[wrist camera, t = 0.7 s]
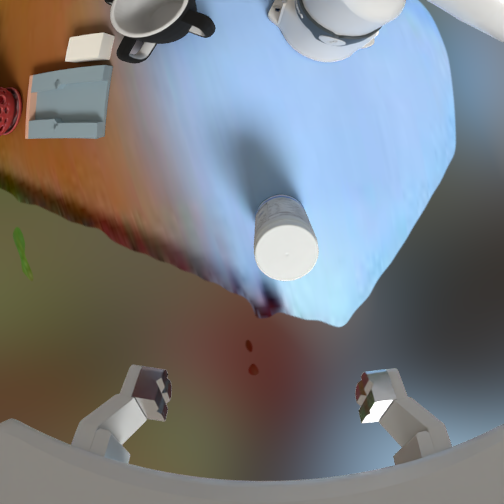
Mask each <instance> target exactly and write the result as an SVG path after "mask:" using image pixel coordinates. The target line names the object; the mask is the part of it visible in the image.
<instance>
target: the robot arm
mask: <svg viewBox="0 0 504 504" xmlns="http://www.w3.org/2000/svg"><path fill="white" fill-rule="evenodd" d="M427 1H429V2H430V3H432V4H434V5H436V6H438V7H439V8H441V9H442V10H444V11H446V12H447V13H449V14H451V15H452V16H454V17H455V18H457V19H458V20H460V21H462V22H464V23H467V24H468V25H470V26H472V27H474V28H476V29H478V30H480V31H482V32H484V33H486V34H488V35H490V36H492V37H493V38H495V39H497V40H499V41H502V42H504V0H427ZM405 3H406V0H275V1H274V3H273V5H272V6H271V8H270V10H269V12H268V18H269V20H270V21H271V22H273V23H274V24H275V25H276V26H278V27H279V28H280V30H281V31H282V33H283V35H284V37H285V39H286V41H287V42H288V43H289V44H290V46H291V47H292V48H293V49H295V50H296V51H297V52H298V53H300V54H302V55H303V56H305V57H307V58H310V59H312V60H316V61H321V62H336V61H340V60H343V59H346V58H348V57H349V56H351V55H352V54H353V53H355V52H356V51H357V50H359V49H363V48H368V47H370V46H372V45H373V44H374V37H376V36H377V35H378V33H379V31H378V30H379V29H380V28H381V27H382V26H383V25H385V24H387V23H388V22H390V21H392V20H394V19H395V18H397V17H398V16H399V15H400V13H401V12H402V10H403V8H404V6H405ZM275 9H279V10H280V11H278V12H277V11H275ZM167 377H168V373H167V370H164V369H157V368H150V367H144V366H138V365H132V366H131V367H130V368H129V371H128V373H127V376H126V379H125V381H124V384H123V386H122V389H121V392H120V394H116V395H115V396H113V397H112V398H111V399H109V400H108V401H107V402H105V403H104V404H103V405H101V406H100V407H99V408H97V409H96V410H94V411H93V412H92V413H91V414H89V415H88V416H86V417H85V418H84V419H82V420H81V421H80V423H79V426H78V428H77V430H76V433H75V435H74V438H73V441H72V443H71V445H69V444H67V443H64V442H62V441H60V440H57V439H55V438H53V437H50V436H48V435H46V434H44V433H42V432H40V431H37V430H35V429H33V428H31V427H29V426H28V425H26V424H23V423H22V422H20V421H18V420H15V419H9V420H6V421H4V422H2V423H1V424H0V504H504V424H502V425H500V426H498V427H496V428H494V429H492V430H490V431H488V432H486V433H484V434H482V435H479V436H477V437H475V438H473V439H471V440H468V441H466V442H463V443H461V444H459V445H456V446H454V447H452V446H451V442H450V439H449V436H448V433H447V430H446V427H445V425H444V424H443V423H442V422H441V421H440V420H438V419H437V418H436V417H435V416H434V415H432V414H431V413H430V412H428V411H427V410H426V409H425V408H423V407H422V406H421V405H420V404H419V403H417V402H416V401H415V400H414V399H412V398H411V397H408V396H407V393H406V391H405V388H404V385H403V383H402V380H401V377H400V375H399V372H398V370H397V369H396V368H393V369H386V370H385V369H383V370H376V371H368V372H364V373H363V374H362V376H361V379H362V380H361V381H360V382H359V383H358V384H357V386H356V392H355V396H356V401H357V403H358V404H359V405H360V406H361V407H360V409H359V415H360V419H361V423H368V422H375V421H379V422H380V424H381V425H382V426H383V427H384V428H385V429H386V430H387V432H389V434H390V435H391V436H392V437H393V438H394V439H395V440H396V441H397V442H398V444H400V446H401V447H402V448H401V449H400V450H399V451H398V452H397V453H396V454H395V455H394V456H393V457H394V462H395V465H394V466H390V467H386V468H381V469H377V470H372V471H367V472H361V473H356V474H350V475H343V476H336V477H328V478H320V479H308V480H293V481H238V480H222V479H211V478H202V477H194V476H186V475H180V474H174V473H168V472H163V471H158V470H153V469H148V468H144V467H139V466H135V465H131V464H128V462H129V458H130V454H129V452H128V451H127V450H126V449H125V448H124V447H123V446H122V444H123V443H124V442H125V441H126V440H127V439H128V438H129V437H130V436H131V435H132V434H133V433H134V432H135V431H136V430H137V429H138V428H139V427H140V426H141V425H142V424H143V423H144V422H145V421H146V419H152V420H158V421H165V420H166V416H167V412H168V407H167V405H166V403H168V402H169V401H170V398H171V392H172V386H171V382H170V380H169V379H167Z"/></svg>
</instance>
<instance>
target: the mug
mask: <svg viewBox="0 0 504 504" xmlns="http://www.w3.org/2000/svg"><path fill="white" fill-rule="evenodd" d="M105 2H106V3H108V4H109V5H111V11H110V18H111V22H112V25H113V27H114V28H115V29H116V31H118V32H119V33H120V34H122V35H124V38H123V40H122V42H121V44H120V45H119V48H118V50H117V56H118V58H119V59H120V60H122V61H125V62H129V63H140V62H142V61H144V60H146V59H147V58H148V57H149V56H150V54H151V53H152V51H153V49H154V48H155V46H156V44H164V43H170V42H174V41H176V40H179V39H181V38H182V37H184V36H185V35H186V34H187V33H188V32H190V33H193V34H196V35H198V36H201V37H204V38H207V37H210V36H211V35H212V34H213V33H214V32H215V25H214V23H213V21H212V20H211V19H210V18H209V17H208V16H206V15H204V14H201V13H199V12H197V8H196V3H195V0H105ZM136 40H138V41H142V42H144V44H143V46H142V47H141V49H140V50H139V52H138V53H137V54H135V55H133V54H129V53H130V51H131V49H132V47H133V46H134V44H135V42H136Z"/></svg>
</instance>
